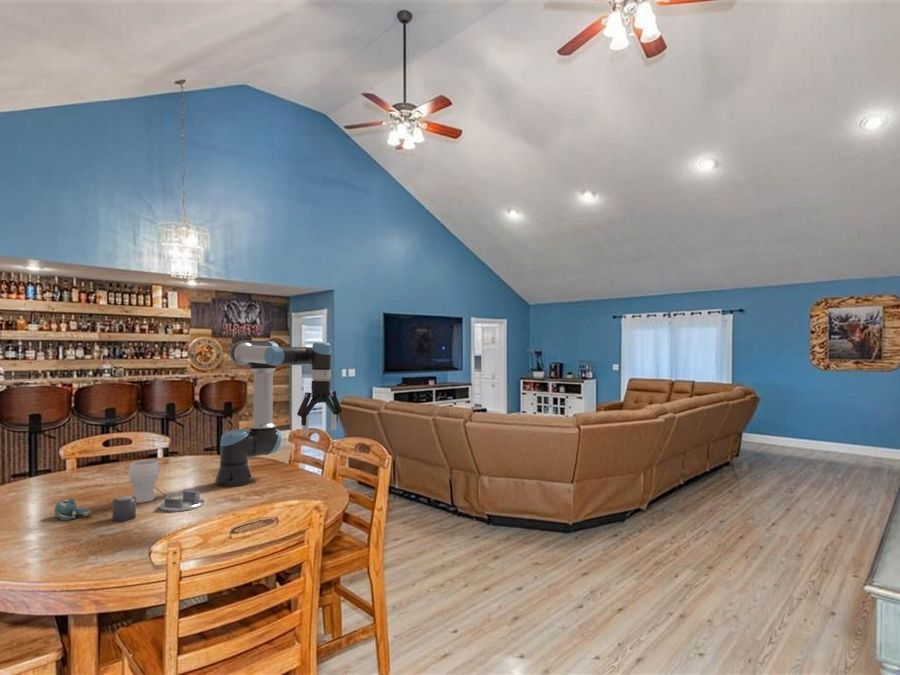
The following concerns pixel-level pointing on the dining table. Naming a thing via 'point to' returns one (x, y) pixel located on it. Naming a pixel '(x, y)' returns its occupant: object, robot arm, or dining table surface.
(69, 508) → the stuffed animal
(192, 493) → the grey stand base
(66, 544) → the dining table surface
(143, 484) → the cup
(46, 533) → the dining table surface
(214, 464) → the dining table surface
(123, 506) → the gray cube
